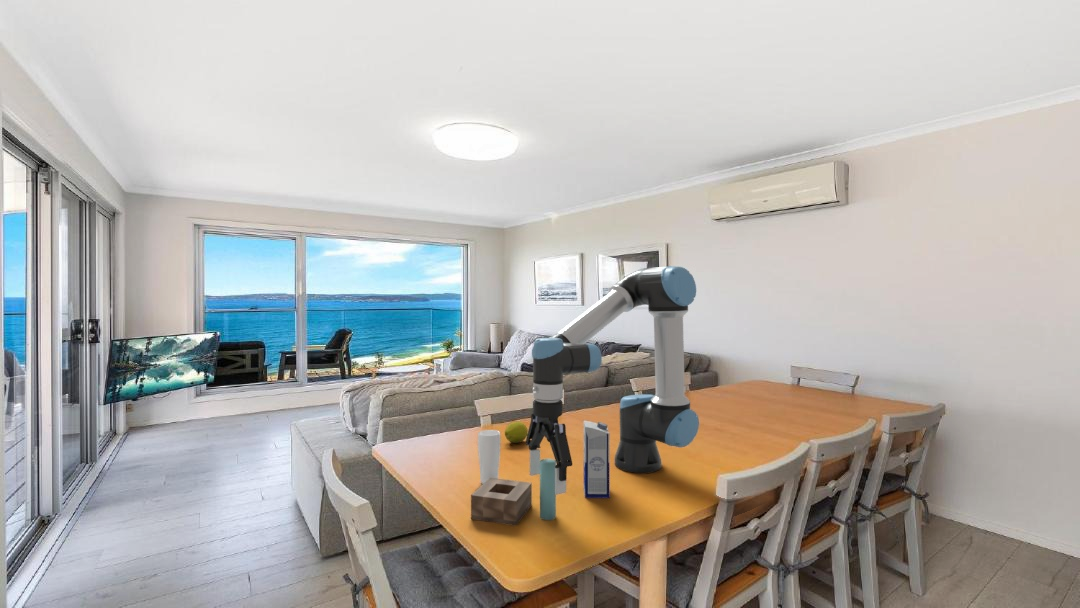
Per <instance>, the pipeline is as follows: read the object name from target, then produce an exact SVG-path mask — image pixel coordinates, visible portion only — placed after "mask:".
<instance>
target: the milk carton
mask: <svg viewBox="0 0 1080 608" xmlns="http://www.w3.org/2000/svg"><path fill="white" fill-rule="evenodd" d="M583 492H584V498H585V499H588V498H589V499H610V431H609V428H608V424H606V423H604V422H600V421H599V422H593V421H588V420H583Z"/></svg>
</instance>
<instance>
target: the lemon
mask: <svg viewBox="0 0 1080 608" xmlns="http://www.w3.org/2000/svg"><path fill="white" fill-rule="evenodd" d="M528 430H529V429H528V427H527V425H526V424H525V423H524V422H522V421H512V422H511V423H509V424H508V425H507V426H506V428H505V429H504V437H505V438H506V440H507V441H509V442H510V443H512V444H519V443H522V442H524V440H526V438H527V434H528Z"/></svg>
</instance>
